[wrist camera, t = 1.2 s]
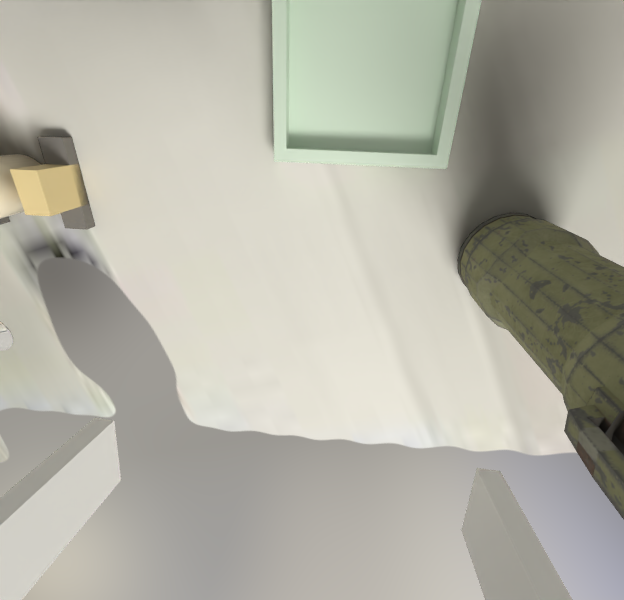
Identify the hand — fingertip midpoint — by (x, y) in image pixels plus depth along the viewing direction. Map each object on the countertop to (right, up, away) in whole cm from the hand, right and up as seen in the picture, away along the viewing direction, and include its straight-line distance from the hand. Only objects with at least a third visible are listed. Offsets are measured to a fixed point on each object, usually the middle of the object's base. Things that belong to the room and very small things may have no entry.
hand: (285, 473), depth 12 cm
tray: (+5, +25, +14) cm, 29 cm away
